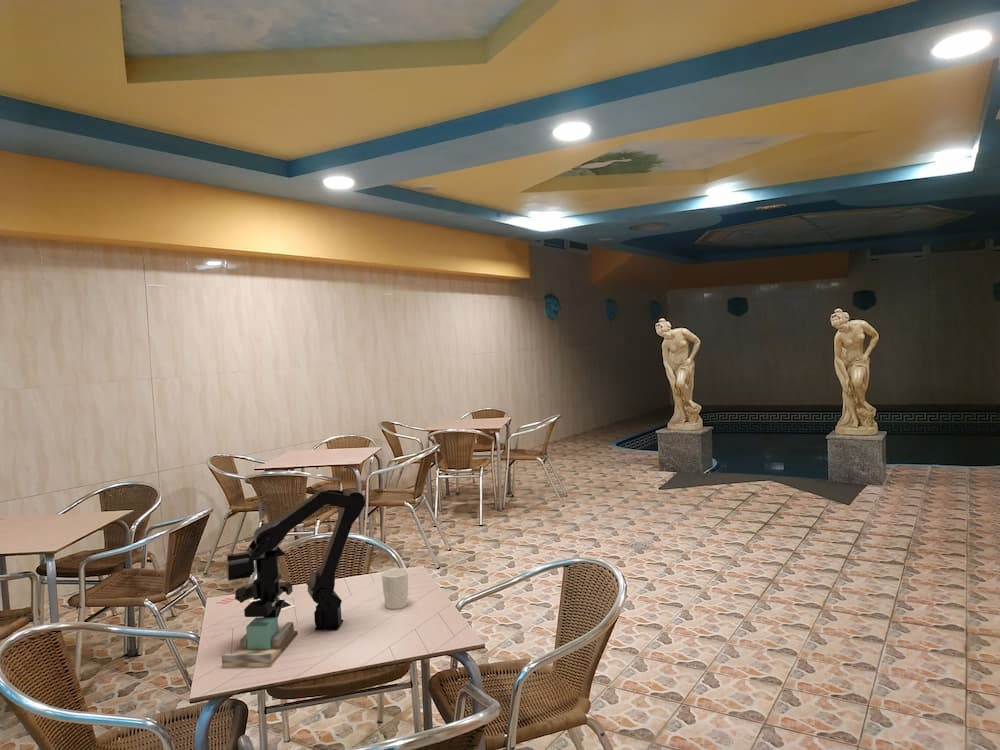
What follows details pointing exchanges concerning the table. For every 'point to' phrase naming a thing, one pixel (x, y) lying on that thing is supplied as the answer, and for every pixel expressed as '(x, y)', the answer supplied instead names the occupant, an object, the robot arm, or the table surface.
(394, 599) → the white cup
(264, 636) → the block
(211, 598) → the table surface
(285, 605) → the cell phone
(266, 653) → the chute
